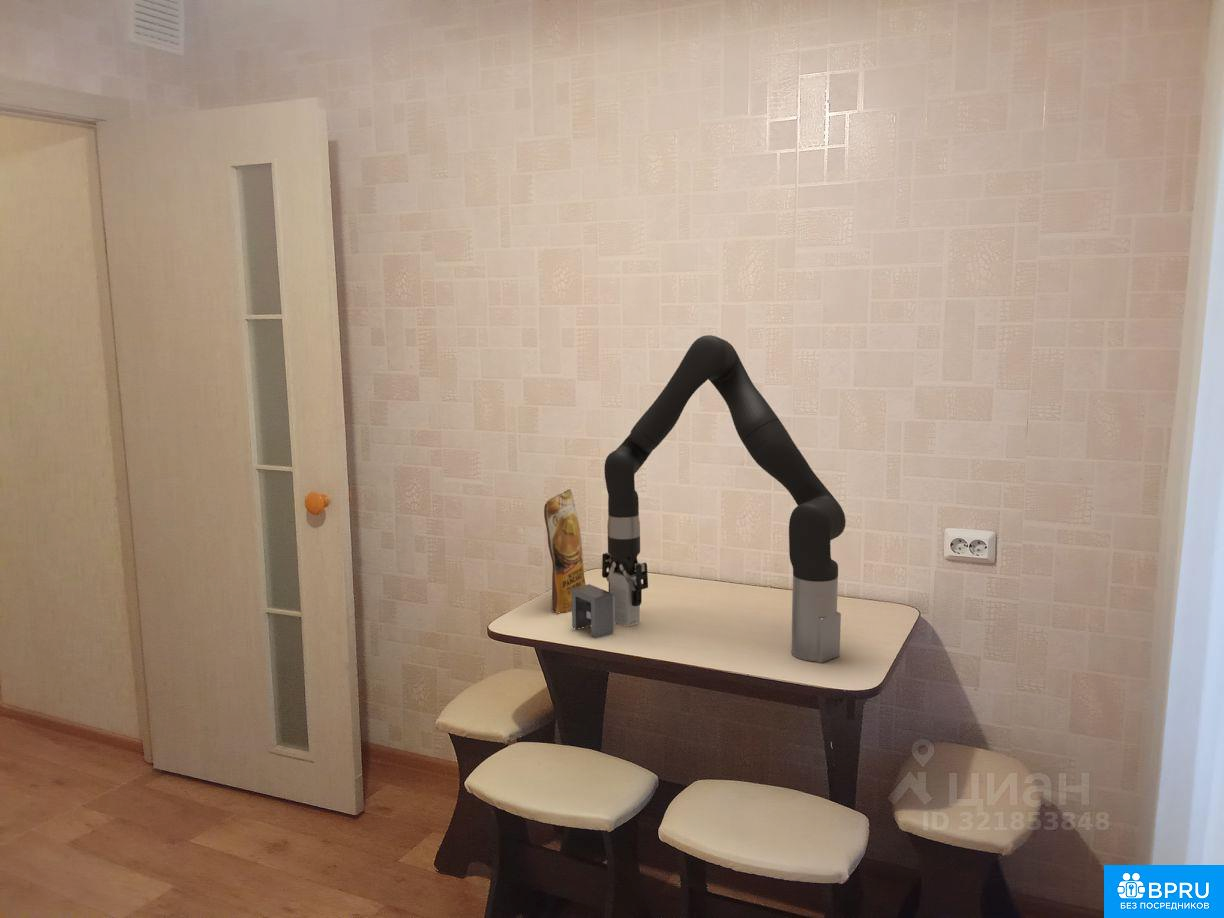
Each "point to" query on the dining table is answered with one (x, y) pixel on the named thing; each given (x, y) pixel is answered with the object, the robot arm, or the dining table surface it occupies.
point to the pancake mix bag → (564, 549)
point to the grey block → (613, 612)
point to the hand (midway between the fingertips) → (624, 601)
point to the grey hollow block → (593, 610)
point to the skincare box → (623, 600)
